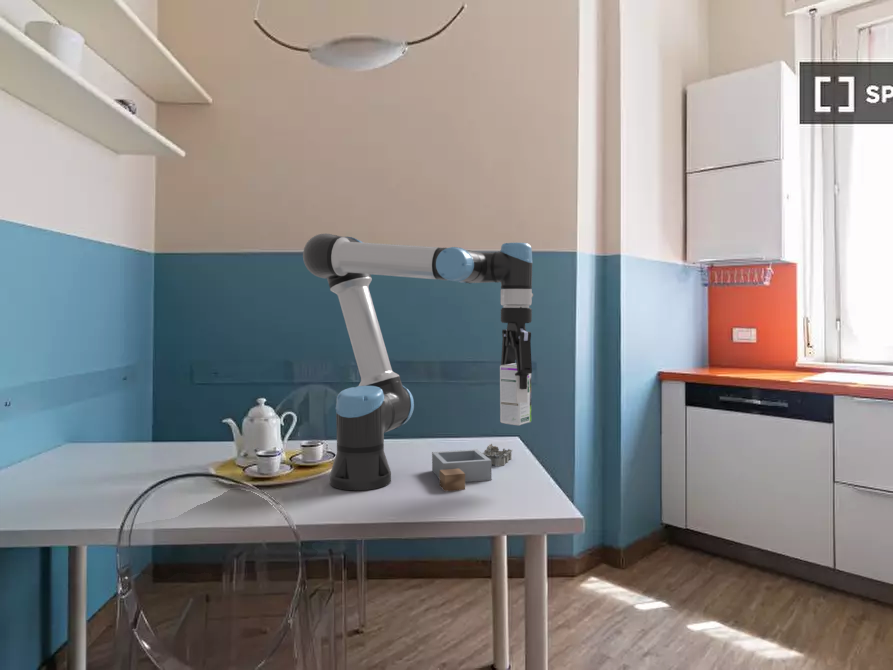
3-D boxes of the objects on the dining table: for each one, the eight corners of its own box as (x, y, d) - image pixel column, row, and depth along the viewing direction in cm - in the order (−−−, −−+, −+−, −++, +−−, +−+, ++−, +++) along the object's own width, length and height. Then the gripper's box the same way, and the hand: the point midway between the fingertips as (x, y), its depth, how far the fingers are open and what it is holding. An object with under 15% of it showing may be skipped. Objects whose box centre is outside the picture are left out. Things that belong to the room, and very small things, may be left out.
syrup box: (519, 425, 152) (520, 365, 152) (499, 423, 156) (499, 364, 155) (531, 422, 157) (532, 363, 156) (511, 419, 161) (511, 362, 160)
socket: (443, 483, 158) (443, 463, 157) (432, 470, 170) (432, 452, 169) (491, 479, 161) (491, 460, 160) (477, 467, 173) (477, 449, 173)
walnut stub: (445, 491, 151) (444, 475, 151) (439, 486, 156) (439, 469, 156) (465, 490, 153) (465, 473, 152) (459, 484, 157) (459, 468, 157)
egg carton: (490, 456, 186) (490, 443, 186) (515, 459, 183) (515, 445, 183) (477, 465, 176) (477, 450, 176) (502, 467, 173) (502, 453, 173)
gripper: (547, 307, 146) (546, 405, 147) (516, 306, 166) (515, 393, 167) (516, 307, 144) (515, 407, 145) (488, 306, 164) (488, 394, 165)
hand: (515, 399), depth 156 cm, fingers closed on syrup box, 8 cm apart
